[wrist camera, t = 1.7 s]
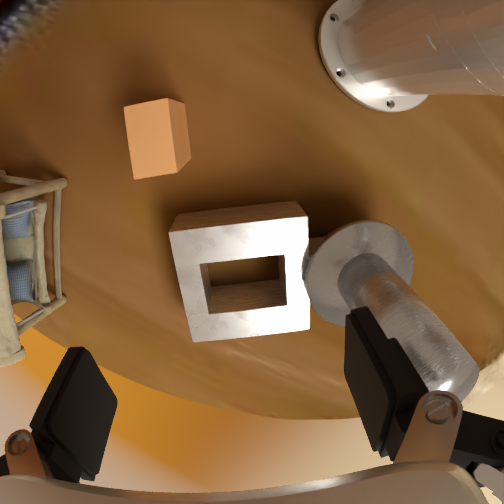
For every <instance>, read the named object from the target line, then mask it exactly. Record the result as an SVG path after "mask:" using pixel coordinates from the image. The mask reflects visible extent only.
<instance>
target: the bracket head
mask: <svg viewBox="0 0 504 504" xmlns="http://www.w3.org/2000/svg"><path fill="white" fill-rule="evenodd" d="M169 237H170V242H171V247H172V252H173V257H174V262H175V267H176V271H177V276H178V280H179V285H180V289H181V294H182V298H183V302H184V307H185V311H186V315H187V319H188V323H189V327H190V331H191V335H192V339H193V342H200V341H212V340H223V339H233V338H242V337H251V336H260V335H268V334H276V333H284V332H291V331H298V330H305V329H309V325H310V303H311V305H312V307H313V308H314V310H315V311H316V313H317V314H318V315H319V316H320V317H322V318H323V319H324V320H326V321H328V322H329V323H332V324H334V325H338V326H345V317H346V315H347V314H350V311H351V309H355V308H359V307H364V306H367V307H368V308H369V309H370V311H371V312H372V314H373V315H374V317H375V319H376V320H377V322H378V323H379V325H380V327H381V328H382V330H383V331H384V333H385V335H386V336H387V338H388V339H390V338H396V339H397V340H398V341H399V343H400V344H401V346H402V348H403V349H404V351H405V352H406V354H407V356H408V357H409V359H410V360H411V362H412V364H413V365H414V367H415V368H416V370H417V372H418V373H419V375H420V377H421V378H422V380H423V382H424V383H425V385H426V387H427V388H428V390H429V392H431V391H435V390H445V391H448V392H451V393H453V394H454V395H456V396H457V397H458V398H459V400H460V401H461V402H462V401H463V400H464V399H465V398H466V396H467V395H468V394H469V393H470V392H471V390H472V389H473V387H474V385H475V384H476V382H477V379H478V376H479V366H478V365H477V363H476V362H475V361H474V360H473V358H472V357H471V356H470V355H469V354H468V352H467V351H466V350H465V349H464V347H463V346H462V345H461V344H460V343H459V341H458V340H457V339H456V338H455V337H454V335H453V334H452V333H451V332H450V331H449V330H448V328H447V327H446V326H445V325H444V324H443V323H442V321H441V320H440V319H439V318H438V317H437V316H436V315H435V313H434V312H433V311H432V310H431V309H430V308H429V307H428V306H427V305H426V303H425V302H424V301H423V300H422V299H421V298H420V297H419V296H418V295H417V294H416V292H415V291H414V290H413V289H412V288H411V287H410V286H409V284H410V282H411V278H412V274H413V266H414V262H413V254H412V250H411V247H410V245H409V243H408V241H407V240H406V239H405V237H404V236H403V235H402V234H401V233H400V232H399V231H398V230H396V229H395V228H394V227H392V226H391V225H389V224H387V223H384V222H381V221H378V220H371V219H369V220H358V221H354V222H350V223H347V224H345V225H343V226H341V227H339V228H335V229H333V230H331V231H330V232H328V233H327V234H326V235H325V236H324V237H316V238H308V216H307V215H306V214H305V212H304V211H303V210H302V208H301V207H300V206H299V204H298V203H297V202H296V201H286V202H276V203H266V204H257V205H247V206H238V207H230V208H221V209H213V210H205V211H197V212H189V213H181V214H178V215H177V217H176V219H175V221H174V222H173V224H172V226H171V228H170V230H169ZM273 255H278V263H279V278H280V279H275V280H266V281H258V282H249V283H240V284H231V285H222V286H213V287H211V283H210V277H209V271H208V265H207V263H211V262H220V261H229V260H238V259H247V258H255V257H264V256H273Z"/></svg>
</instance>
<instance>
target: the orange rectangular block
mask: <svg viewBox="0 0 504 504" xmlns="http://www.w3.org/2000/svg"><path fill="white" fill-rule="evenodd" d="M124 114H125V122H126V130H127V137H128V144H129V150H130V157H131V163H132V169H133V175H134V180H135V179H141V178H147V177H153V176H159V175H165V174H172V173H177V172H178V171H179V170H180V169H181V168H182V167H183V166H184V165H185V164H186V163H187V162H188V161H189V160H190V159H191V151H190V143H189V135H188V127H187V119H186V110H185V104H184V103H181V102H178V101H175V100H172V99H169V98H165V99H159V100H154V101H149V102H144V103H140V104H135V105H131V106H126V107H124Z"/></svg>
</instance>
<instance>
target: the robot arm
mask: <svg viewBox="0 0 504 504" xmlns="http://www.w3.org/2000/svg"><path fill="white" fill-rule="evenodd" d="M330 18H332V19H333V20H334V21H332V20H330ZM318 43H319V52H320V55H321V58H322V61H323V64H324V66H325V68H326V70H327V72H328V74H329V76H330V77H331V78H332V80H333V81H334V82H335V84H336V85H337V86H338V87H339V88H340V89H341V90H342V91H343V92H344V93H345V94H346V95H347V96H348V97H350V98H351V99H352V100H354V101H355V102H357V103H359V104H361V105H363V106H365V107H367V108H370V109H373V110H376V111H382V112H401V111H406V110H409V109H411V108H414V107H416V106H418V105H419V104H420V103H421V102H423V101H424V100H425V99H426V98H427V96H428V95H429V94H475V95H498V96H504V0H338V1H336V2H335V3H334V4H333V5H332V6H331V7H330V8H329V9H328V10H327V12H326V13H325V15H324V17H323V18H322V21H321V24H320V27H319V35H318ZM337 71H338V72H339V73H340V76H338V75H337V73H336V72H337ZM387 102H388V106H387ZM344 374H345V378H346V381H347V383H348V386H349V388H350V391H351V394H352V396H353V399H354V401H355V404H356V407H357V409H358V412H359V415H360V417H361V420H362V422H363V425H364V428H365V430H366V433H367V436H368V439H369V442H370V444H371V447H372V450H373V451H374V452H375V451H379V454H380V456H381V458H382V457H385V456H388V455H389V457H390V460H391V461H393V464H390V465H385V466H379V467H375V468H372V469H367V470H362V471H358V472H353V473H349V474H345V475H341V476H336V477H332V478H327V479H322V480H316V481H311V482H306V483H299V484H293V485H288V486H281V487H273V488H265V489H256V490H245V491H232V492H214V493H164V492H145V491H132V490H122V489H113V488H104V487H97V486H91V485H85V484H80V482H79V480H80V477H81V478H82V479H84V480H89V481H94V479H95V475H96V474H98V473H99V470H100V466H101V462H102V458H103V455H104V451H105V447H106V443H107V440H108V436H109V432H110V429H111V425H112V421H113V418H114V415H115V412H116V408H117V398H116V396H115V394H114V393H113V391H112V389H111V388H110V386H109V385H108V383H107V381H106V380H105V378H104V376H103V375H102V373H101V371H100V369H99V368H98V366H97V364H96V362H95V361H94V359H93V357H92V355H91V353H90V352H89V351H88V350H86V349H85V348H84V347H70V348H69V349H68V350H67V352H66V354H65V356H64V357H63V359H62V361H61V363H60V365H59V367H58V369H57V370H56V372H55V374H54V376H53V378H52V380H51V382H50V384H49V386H48V388H47V390H46V392H45V394H44V396H43V398H42V400H41V402H40V404H39V406H38V408H37V410H36V412H35V414H34V416H33V419H32V421H31V423H30V425H29V426H30V427H31V428H32V432H31V433H30V432H29V431H28V430H25V429H22V430H18V431H15V432H14V433H12V434H11V435H10V436H9V437H8V439H7V441H6V443H5V455H3V456H1V457H0V504H489V503H488V502H487V500H486V498H485V496H484V494H483V492H482V491H481V489H480V487H485V486H486V487H487V488H489V489H490V490H492V491H493V493H492V494H493V495H495V496H496V497H498V498H499V499H500V500H501V501H502V504H504V421H502V420H498V419H494V418H490V417H486V416H482V415H478V414H475V413H470V412H467V411H463V407H462V404H461V401H460V400H459V398H458V397H457V396H456V395H454V394H453V393H451V392H448V391H445V390H435V391H431V392H429V390H428V388H427V387H426V385H425V383H424V382H423V380H422V378H421V377H420V375H419V373H418V372H417V370H416V368H415V367H414V365H413V364H412V362H411V360H410V359H409V357H408V356H407V354H406V352H405V351H404V349H403V348H402V346H401V344H400V343H399V341H398V340H397V339H396V338H390V339H388V338H387V336H386V335H385V333H384V331H383V330H382V328H381V327H380V325H379V323H378V322H377V320H376V319H375V317H374V315H373V314H372V312H371V311H370V309H369V308H368V307H367V306H364V307H359V308H355V309H351V311H350V314H347V315H346V317H345V357H344Z"/></svg>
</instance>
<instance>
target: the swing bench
mask: <svg viewBox="0 0 504 504" xmlns="http://www.w3.org/2000/svg"><path fill="white" fill-rule="evenodd" d="M0 182H6V183H13V184H19V185H25V186H26V187H22V188H18V189H15V190H11V191H7V192H3V193H0V367H3V366H8V365H11V364H14V363H16V362H19V361H21V360H23V359H24V358H25V357H26V353H25V349H24V347H23V346H21V345H20V339H19V335H21V334H22V333H24V332H25V331H26V330H28V329H29V328H30V327H32V326H33V325H35V324H36V323H37V322H39V321H40V320H41V319H43V318H44V317H46V316H47V315H49V314H51V313H52V312H53V311H54V310H56V309H57V308H58V307H60V306H61V305H63V304H64V303H65V302H66V297H65V295H63V294H62V287H61V267H60V214H61V194H62V189H63V188H65V187H66V186H67V180H66V179H65V178H59V179H54V180H50V181H41V180H35V179H28V178H21V177H14V176H7V175H6V171H5V170H0ZM52 191H55V194H54V220H53V250H54V274H55V288H56V298H55V299H53V300H52V301H51V300H50V298H49V295H48V290H47V280H46V272H45V259H44V222H45V214H46V211H47V202H46V201H45V200H43V199H41V198H40V197H38V196H39V195H41V194H45V193H48V192H52ZM21 302H29V303H33V304H35V305H36V306H37V307H38V308H39V309H38V310H37V311H35V312H34V313H32V314H31V315H29V316H28V317H26V318H25V319H23V320H22V321H20V322H18V323H16V322H15V318H14V314H13V308H12V305H13V304H16V303H21Z"/></svg>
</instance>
